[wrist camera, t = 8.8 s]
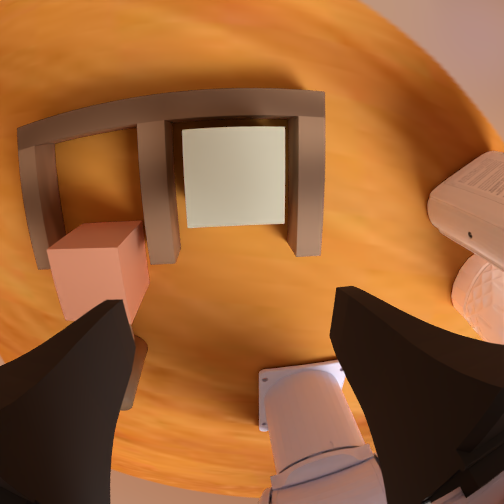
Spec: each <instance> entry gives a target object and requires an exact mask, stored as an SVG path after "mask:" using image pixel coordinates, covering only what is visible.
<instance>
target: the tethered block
mask: <svg viewBox="0 0 504 504" xmlns="http://www.w3.org/2000/svg"><path fill="white" fill-rule="evenodd" d="M47 254H48V259H49V263H50V267H51V272H52V276H53V279H54V283H55V287H56V291H57V294H58V298H59V301H60V304H61V308H62V311H63V314H64V317H65V320H69V321H76V320H77V319H79V318H80V317H81V316H83V315H84V314H85V313H87V312H88V311H90V310H91V309H92V308H94V307H95V306H97V305H98V304H100V303H102V302H103V301H105V300H114V299H123V303H124V307H125V310H126V314H127V318H128V322H129V325H130V329H131V332H132V336H133V339H134V342H135V346H136V349H135V355H134V362H133V367H132V372H131V375H130V379H129V382H128V385H127V389H126V392H125V395H124V399H123V402H122V405H121V409H120V410H129V409H131V408H132V406H133V402H134V398H135V394H136V390H137V386H138V382H139V378H140V375H141V371H142V367H143V364H144V360H145V357H146V353H147V349H148V347H147V344H146V343H145V341H144V340H143V339H141V338H140V337H138V336H134V334H133V330H132V326H131V324H132V323H133V320H134V318H135V316H136V313H137V311H138V309H139V306H140V304H141V302H142V299H143V297H144V295H145V293H146V290H147V288H148V286H149V284H150V281H149V274H148V266H147V259H146V250H145V241H144V231H143V221H142V220H140V221H118V222H99V223H83V224H81V225H80V226H78V227H77V228H76V229H74V230H73V231H71V232H70V233H68V234H67V235H66V236H64V237H63V238H61V239H60V240H59V241H57V242H56V243H55V244H53V245H52V246H51V247H49V248H48V249H47Z"/></svg>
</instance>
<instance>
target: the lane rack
mask: <svg viewBox="0 0 504 504" xmlns="http://www.w3.org/2000/svg"><path fill="white" fill-rule="evenodd" d="M225 119H288V239H287V243H288V244H289V246H290V247H291V249H292V251H293V252H294V254H295V256H296V257H304V256H321V243H322V227H323V208H324V183H325V92H322V91H311V90H297V89H276V88H226V89H205V90H191V91H180V92H170V93H162V94H154V95H147V96H140V97H134V98H128V99H123V100H117V101H112V102H107V103H102V104H98V105H93V106H89V107H85V108H81V109H77V110H73V111H69V112H66V113H62V114H58V115H55V116H52V117H48V118H45V119H42V120H39V121H36V122H33V123H30V124H27V125H24V126H22V127H19V128H17V137H18V156H19V168H20V178H21V187H22V194H23V201H24V207H25V213H26V219H27V224H28V229H29V234H30V238H31V243H32V247H33V251H34V255H35V259H36V263H37V266H38V270H39V269H51V267H50V263H49V259H48V254H47V249H48V248H49V247H51V246H52V245H53V244H55V243H56V242H57V241H59V240H60V239H61V238H63V237H64V236H66V232H65V227H64V222H63V216H62V210H61V203H60V196H59V189H58V180H57V171H56V160H55V145H54V144H55V143H59V142H63V141H67V140H72V139H76V138H81V137H85V136H90V135H95V134H100V133H106V132H111V131H117V130H123V129H130V128H136V127H137V138H138V157H139V171H140V183H141V194H142V204H143V213H144V221H145V229H146V237H147V244H148V251H149V257H150V264H151V265H154V264H174V263H176V260H177V258H178V255H179V252H180V249H181V244H180V235H179V225H178V214H177V202H176V188H175V174H174V156H173V133H172V123H179V122H191V121H205V120H225Z"/></svg>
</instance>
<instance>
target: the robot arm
mask: <svg viewBox="0 0 504 504" xmlns="http://www.w3.org/2000/svg"><path fill="white" fill-rule="evenodd" d="M330 339H331V342H332V345H333V348H334V351H335V354H336V357H337V359H338V360H333V361H327V362H320V363H313V364H306V365H298V366H290V367H281V368H272V369H263V370H261V371H260V372H259V430H260V431H269V435H270V441H271V446H272V452H273V457H274V463H275V468H276V474H277V475H274V476H271V477H270V478H271V484H272V487H271V488H267V489H265V490H264V492H263V493H262V496H261V497H260V499H259V501H258V504H504V345H501V344H495V343H490V342H485V341H480V340H476V339H473V338H469V337H465V336H462V335H458V334H455V333H452V332H449V331H447V330H444V329H441V328H439V327H436V326H434V325H431V324H429V323H426V322H424V321H422V320H420V319H418V318H416V317H413V316H411V315H409V314H407V313H405V312H403V311H401V310H399V309H397V308H396V307H394V306H392V305H390V304H388V303H386V302H384V301H382V300H380V299H379V298H377V297H375V296H373V295H371V294H369V293H367V292H365V291H363V290H361V289H359V288H357V287H354V286H347V287H337V288H336V295H335V302H334V309H333V316H332V323H331V329H330ZM135 349H136V346H135V342H134V339H133V336H132V332H131V329H130V325H129V322H128V318H127V314H126V310H125V307H124V303H123V299H114V300H105V301H103V302H102V303H100V304H98V305H97V306H95V307H94V308H92V309H91V310H90V311H88V312H87V313H85V314H84V315H83V316H81V317H80V318H79V319H77V320H76V321H74V322H73V323H72V324H70V325H69V326H68V327H66V328H65V329H63V330H62V331H60V332H59V333H57V334H56V335H55V336H53V337H52V338H50V339H49V340H47V341H46V342H44V343H43V344H41V345H40V346H38V347H36V348H35V349H33V350H31V351H30V352H28V353H26V354H24V355H22V356H21V357H19V358H17V359H15V360H13V361H11V362H8V363H6V364H4V365H2V366H0V504H110V471H111V456H112V447H113V439H114V432H115V427H116V423H117V419H118V416H119V412H120V409H121V405H122V402H123V399H124V395H125V392H126V389H127V385H128V382H129V379H130V375H131V372H132V367H133V362H134V355H135ZM345 376H346V377H347V379H348V381H349V383H350V385H351V387H352V389H353V391H354V393H355V395H356V397H357V399H358V401H359V403H360V405H361V408H362V410H363V412H364V415H365V417H366V420H367V423H368V426H369V429H370V432H371V435H372V438H373V442H374V445H375V448H376V452H375V453H374V455H373V453H372V451H371V448H370V446H369V444H365V442H364V440H363V438H362V435H361V433H360V431H359V428H358V426H357V424H356V421H355V419H354V417H353V415H352V412H351V410H350V408H349V406H348V403H347V401H346V399H345V396H344V394H343V392H342V386H343V383H344V379H345ZM263 378H265V379H263Z"/></svg>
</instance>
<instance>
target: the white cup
mask: <svg viewBox="0 0 504 504" xmlns="http://www.w3.org/2000/svg"><path fill="white" fill-rule="evenodd" d="M451 298H452V303H453V307H454V308H455V309H456V310H457V311H458V312H459V313H460V314H461V315H462V316H463V317H464V318H465V319H466V320H467V321H468V323H469V324H470V326H471V327H472V328H473V329H474V330H475V331H476V333H477V334H478V335H479V336H480V337H481V338H482V339H483V341H485V342H490V343H495V344H501V345H504V272H502V271H501V270H499V269H497V268H496V267H494V266H493V265H491V264H490V263H488V262H487V261H485V260H484V259H482V258H481V257H479V256H477V255H476V254H474V255H472V256H471V257H469V258H468V260H467V261H466V262H465V263H464V265H463V266H462V267H461V269H460V270H459V273H458V275H457V277H456V279H455V281H454V284H453V289H452V295H451Z"/></svg>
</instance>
